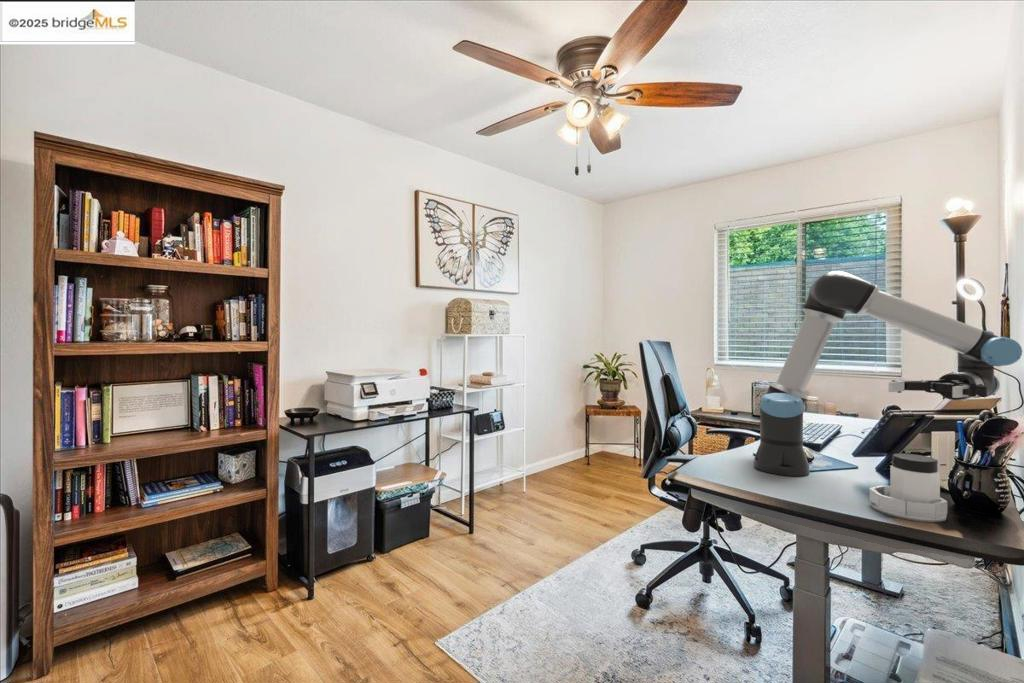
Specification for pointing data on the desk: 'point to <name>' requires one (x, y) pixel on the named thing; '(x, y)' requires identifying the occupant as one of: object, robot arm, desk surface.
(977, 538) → the desk surface
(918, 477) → the jar
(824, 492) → the desk surface
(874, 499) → the grey octagonal tray
